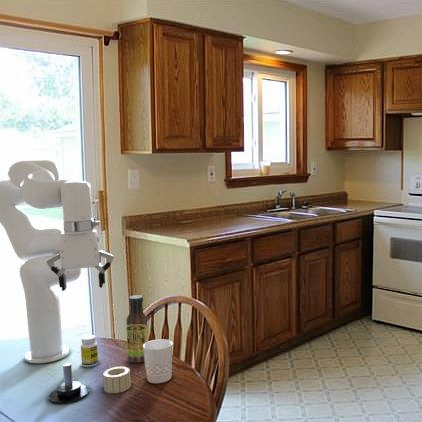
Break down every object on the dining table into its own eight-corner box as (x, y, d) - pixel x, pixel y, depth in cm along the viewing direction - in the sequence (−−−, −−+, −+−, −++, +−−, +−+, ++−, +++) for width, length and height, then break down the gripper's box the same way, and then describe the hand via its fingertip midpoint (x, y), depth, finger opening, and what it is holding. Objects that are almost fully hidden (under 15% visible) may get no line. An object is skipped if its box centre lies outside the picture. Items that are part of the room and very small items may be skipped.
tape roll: (105, 383, 147) (104, 368, 146) (131, 380, 148) (130, 365, 148) (103, 394, 140) (102, 378, 140) (130, 391, 142) (129, 375, 141)
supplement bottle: (93, 367, 158) (91, 340, 157) (78, 367, 159) (76, 339, 158) (101, 361, 162) (99, 334, 162) (87, 360, 163) (85, 334, 162)
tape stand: (52, 389, 144) (50, 359, 143) (91, 384, 147) (89, 355, 146) (45, 406, 135) (42, 374, 134) (87, 400, 137) (84, 369, 136)
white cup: (139, 379, 149) (137, 344, 148) (163, 370, 155) (161, 337, 154) (155, 387, 144) (153, 351, 143) (179, 377, 150) (177, 343, 148)
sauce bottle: (125, 364, 160) (121, 300, 157) (129, 356, 166) (126, 294, 163) (147, 363, 160) (143, 299, 158) (150, 355, 166) (147, 293, 164)
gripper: (112, 223, 151) (116, 282, 153) (47, 226, 147) (51, 287, 149) (110, 226, 143) (114, 288, 146) (41, 230, 139) (46, 294, 141)
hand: (82, 288), depth 147 cm, fingers open, 9 cm apart
